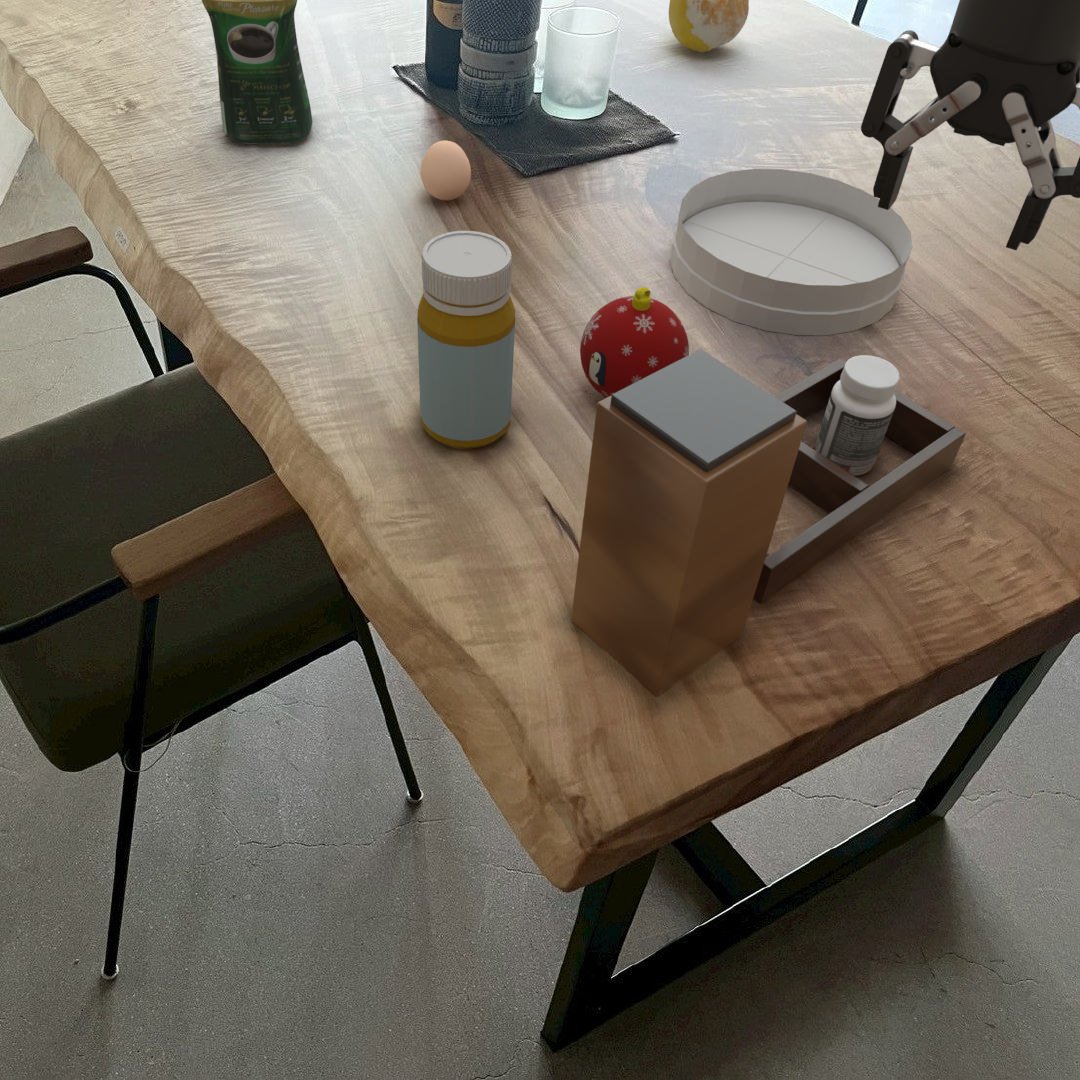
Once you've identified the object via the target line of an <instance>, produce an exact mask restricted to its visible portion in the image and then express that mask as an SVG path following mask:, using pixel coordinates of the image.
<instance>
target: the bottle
mask: <svg viewBox="0 0 1080 1080" xmlns="http://www.w3.org/2000/svg"><path fill="white" fill-rule="evenodd" d="M511 251H512V250H511V249H510V247H509V246H508V244H507V243H505V242H504V241H503V240H502V239H500V238H498V237H497V236H494V235H492V234H489V233H485V232H482V231H476V230H454V231H448V232H444V233H442V234H439V235H436V236H434V237H432V238H430V240H428V241H427V242H426V243H425V245H424V246H423V248H422V253H421V279H422V291H423V293H422V295H421V297H420V301H419V303H418V307H417V318H416V320H417V321H416V322H417V325H416V326H417V354H418V382H419V383H418V384H419V385H418V386H419V387H418V388H419V414H420V422H421V425H422V427H423V429H424V430H425V432H426V433H427V434H428V435H429V436H430V437H432V438H433V439H434V440H435V441H437V442H439V443H441V444H443V445H444V446H447V447H451V448H454V449H459V450H460V449H463V450H473V449H479V448H483V447H485V446H488V445H490V444H492V443H494V442H496V441H497V440H498V439H499V438H501V437H502V436H503V435H504V434H505V433H506V432H507V431H508V429H509V427H510V424H511V417H512V396H513V395H512V394H513V376H514V375H513V374H514V355H515V354H514V353H515V333H516V332H515V330H516V309H515V305H514V303H513V300H512V297H511V289H512V288H511V284H512V272H513V271H512V269H513V268H512V267H513V255H512V252H511Z"/></svg>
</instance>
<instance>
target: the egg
mask: <svg viewBox="0 0 1080 1080" xmlns="http://www.w3.org/2000/svg"><path fill="white" fill-rule="evenodd" d="M471 177H472V169H471V163H470V160H469V158H468V156H467V154H466V153H465V151H464V150H463V148H462V147H461V146H460V145H459V144H458V143H456V142H453V141H451V140H439V141H437V142H435V143H434V144H432V145H430V147H428V149H427V150H426V152H425V153H424V155H423V157H422V160H421V164H420V179H421V182H422V185H423V187H424V189H425V190H426V192H428V193H429V194H430V196H432V197H434V198H435V199H438V200H440V201H441V200H442V201H452V200H455V199H458V198H459V197H460V196H462V195H463V194H464V193H465V192H466V191H467V189H468V187H469V185H470V184H471Z"/></svg>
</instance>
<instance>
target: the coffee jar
mask: <svg viewBox="0 0 1080 1080" xmlns="http://www.w3.org/2000/svg"><path fill="white" fill-rule="evenodd" d="M201 3H202V5H203V7H204V9H205V10H206V13H207V14H208V17H209V19H210V23H211V28H212V33H213V41H214V46H215V55H216V56H215V57H216V64H217V78H218V79H217V80H218V92H219V104H220V105H219V106H220V114H221V115H220V116H221V123H222V128H223V129H222V130H223V134H225V136H226V137H227V138H228V139H230V140H232V141H233V142H235V143H237V144H247V145H278V144H279V145H283V144H295V143H299V142H300V141H302V140H304V139H305V138H307V137H308V136H309V135H310V133H311V131H312V128H313V114H312V109H311V103H310V98H309V93H308V88H307V83H306V78H305V75H304V70H303V66H302V61H301V55H300V50H299V44H298V38H297V37H298V36H297V31H296V30H297V29H296V22H295V21H296V20H295V12H296V7H297V4H298V0H201Z"/></svg>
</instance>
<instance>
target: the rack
mask: <svg viewBox="0 0 1080 1080" xmlns="http://www.w3.org/2000/svg"><path fill="white" fill-rule="evenodd" d="M846 362H847V360H845V359H842V358H841V357H840V358H838V359H836V360H835V361H833V362H831V363H829V364H827V365H825V366H824V367H822V368H820V369H819V370H816V371H815V372H813V373H812V374H810V375H809V376H807V377H805V378H803V379H801V380H800V381H798V382H796V383H794V384H792V385H791V386H789V387H787V388H785V389H784V390H782V391H781V392H779V393H777V394H776V395H773V396H774V397H776V398H777V399H779V400H780V401H782V402H784V403H785V404H787V405H788V406H790V407H791V408H793V409H794V410H796V411H797V413H796V414H797V415H799V416H800V417H802V418H803V419H806V418H808V417H809V416H811V415H813V414H814V413H816V412H818V411H819V410H821V409H823V408H825V407H827V405H828V402H829V399H830V395H831V392H832V389H833V387H834V385H835V384H836V383H837V382H838V381H839V380H840V377H841V374H842V371H843V369H844V366H845V363H846ZM895 397H896V406H895V409H894V412H893V415H892V417H891V420H890V423H889V425H888V428H887V431H886V434H885V436H884V437H887V438H888V439H890V440H892V441H893V442H895V443H896V444H897V445H900V446H901V447H902V448H905V449H906V450H908V451H909V452H911V453H913V454H914V455H912V456H911V457H910V458H908V459H907V460H905V461H904V462H902V463H901V464H899V465H898V466H897V467H894V469H891V471H889V472H888V473H887V474H885V475H884V476H882V477H880V478H879V479H878V480H875V482H873V483H872V484H871V485H868V484H867V483H865V482H864V481H863V480H861V479H859V478H858V477H857V476H853V475H852V474H850V473H849V472H847V471H846V470H844V469H843V468H841V467H840V466H838V465H837V464H835V463H834V462H832V461H831V460H829V459H828V458H826V457H825V456H823V455H822V454H820V453H818V452H817V451H815V450H814V448H813V447H811V446H810V445H808V444H807V443H806V442H803V441H801V444H800V447H799V450H798V454H797V457H796V460H795V463H794V467H793V470H792V473H791V476H790V480H789V483H788V486H790V487H791V488H792V489H794V490H795V491H797V492H798V493H800V494H801V495H803V496H804V498H807V499H808V500H810V501H811V502H813V503H814V504H816V505H817V506H819V507H820V508H821V509H823V510H824V511H826V512H827V513H828V514H827V515H825V516H824V517H823V518H821V519H820V520H818V521H816V522H815V523H813V524H812V525H811V526H809V527H808V528H807V529H805V530H804V531H802V532H800V533H799V534H797V535H796V536H795V537H793V538H792V539H791V540H789V541H788V542H786V543H784V544H783V545H782V546H780V547H779V548H778V549H776V550H774V551H773V552H772V553H770V554H769V552H767V555H766V558H765V561H764V565H763V568H762V571H761V574H760V578H759V581H758V584H757V588H756V591H755V594H754V597H753V601H756V602H757V603H758V604H759V605H762V604H763V603H765V602H766V601H767V600H769V599H770V598H771V597H773V596H774V595H776V594H777V593H778V592H780V591H782V589H784V588H785V587H787V586H788V585H789V584H791V583H792V582H793V581H795V580H796V579H798V578H799V577H801V576H802V575H804V574H805V573H806V572H808V571H809V570H810V569H812V568H814V567H815V566H816V565H817V564H819V563H821V562H822V561H823V560H825V559H826V558H827V557H828V556H830V555H831V554H832V553H834V552H835V551H837V550H839V549H840V548H841V547H843V546H844V545H845V544H846V543H848V542H849V541H851V540H852V539H853V538H855V537H856V536H858V535H859V534H860V533H862V532H863V531H864V530H866V529H867V528H869V527H871V526H872V525H873V524H875V522H878V520H880V519H881V518H882V517H884V516H886V515H887V514H888V513H889V512H891V511H893V510H894V509H895V508H897V507H898V506H899V505H900V504H902V503H904V502H905V501H906V500H908V499H909V498H910V497H912V496H914V494H916V493H917V492H919V491H920V490H921V489H923V488H924V487H926V486H927V485H929V484H930V483H931V482H932V481H934V480H935V479H937V478H938V477H940V476H941V475H942V474H944V473H945V472H947V471H948V470H949V469H951V468H952V466H953V464H954V462H955V460H956V458H957V455H958V453H959V451H960V449H961V446H962V445H963V442H964V439H965V437H966V435H967V432H965V431H963V430H961V429H960V428H958V427H957V426H955V425H953V424H952V423H951V422H949V421H947V420H945V419H943V418H942V417H940V416H939V415H937V414H935V413H933V412H932V411H930V410H928V409H926V408H925V407H924V406H922V405H920V404H918V403H916V402H915V401H913V400H911V399H910V398H908V397H907V396H905V395H903V394H901V392H898V391H897V390H895Z"/></svg>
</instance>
